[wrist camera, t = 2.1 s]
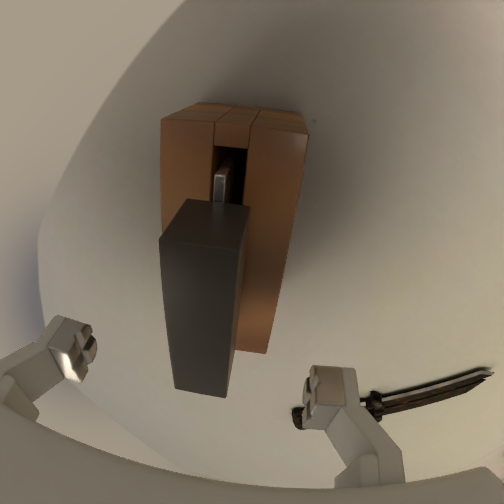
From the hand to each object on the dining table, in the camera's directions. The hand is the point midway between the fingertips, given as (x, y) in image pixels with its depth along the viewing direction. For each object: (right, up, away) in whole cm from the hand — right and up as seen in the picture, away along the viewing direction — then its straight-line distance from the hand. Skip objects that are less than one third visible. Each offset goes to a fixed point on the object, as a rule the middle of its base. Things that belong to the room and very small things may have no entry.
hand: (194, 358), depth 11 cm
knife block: (+1, +7, +10) cm, 12 cm away
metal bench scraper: (+1, +6, +9) cm, 11 cm away
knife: (+19, -13, +20) cm, 31 cm away
